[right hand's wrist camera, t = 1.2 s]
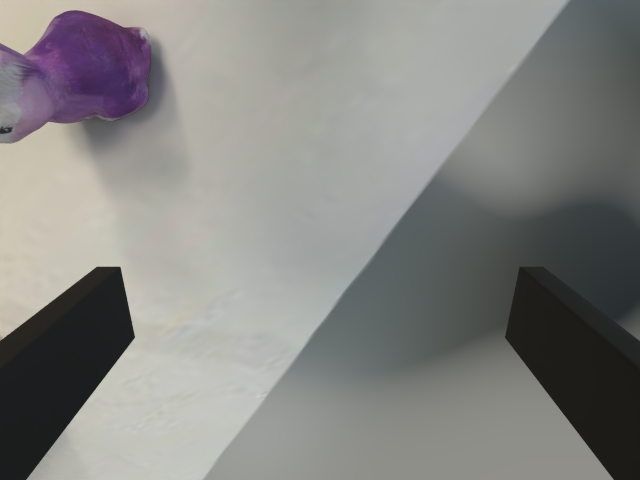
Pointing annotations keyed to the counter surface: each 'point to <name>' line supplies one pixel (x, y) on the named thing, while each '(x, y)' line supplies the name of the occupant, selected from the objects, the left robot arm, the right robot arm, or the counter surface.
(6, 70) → the figurine
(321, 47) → the counter surface
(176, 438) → the counter surface
